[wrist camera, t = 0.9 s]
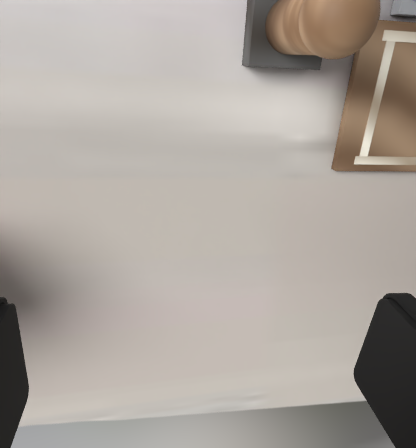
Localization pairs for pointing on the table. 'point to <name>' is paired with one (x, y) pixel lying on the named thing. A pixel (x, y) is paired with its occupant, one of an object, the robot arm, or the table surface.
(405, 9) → the ink pad
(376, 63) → the marked board
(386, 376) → the robot arm
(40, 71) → the table surface
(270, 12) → the stamp
